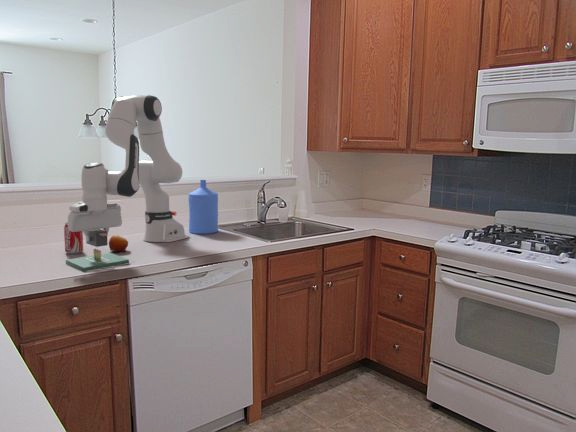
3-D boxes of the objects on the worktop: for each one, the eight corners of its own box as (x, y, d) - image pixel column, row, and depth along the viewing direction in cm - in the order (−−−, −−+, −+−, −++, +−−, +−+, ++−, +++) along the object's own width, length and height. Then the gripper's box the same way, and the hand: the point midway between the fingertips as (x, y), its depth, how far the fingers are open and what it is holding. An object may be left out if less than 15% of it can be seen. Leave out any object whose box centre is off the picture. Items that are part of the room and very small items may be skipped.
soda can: (78, 249, 205) (76, 220, 203) (86, 252, 201) (85, 222, 199) (62, 252, 200) (60, 222, 198) (70, 255, 196) (68, 224, 194)
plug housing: (97, 241, 187) (96, 228, 186) (111, 246, 179) (110, 232, 178) (86, 243, 184) (85, 229, 183) (100, 248, 176) (99, 233, 175)
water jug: (223, 232, 252) (223, 180, 248) (199, 235, 242) (198, 181, 237) (207, 228, 264) (207, 178, 259) (183, 231, 253) (182, 179, 249)
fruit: (101, 248, 203) (110, 231, 205) (116, 255, 209) (125, 238, 210) (109, 251, 198) (118, 234, 199) (125, 258, 203) (133, 241, 205)
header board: (109, 256, 196) (109, 243, 195) (129, 263, 185) (128, 249, 184) (65, 263, 183) (65, 249, 182) (83, 271, 172) (83, 257, 171)
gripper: (116, 202, 190) (117, 235, 192) (65, 206, 175) (66, 242, 177) (124, 203, 186) (125, 237, 188) (72, 208, 171) (73, 245, 173)
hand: (96, 240), depth 182 cm, fingers closed on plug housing, 4 cm apart
